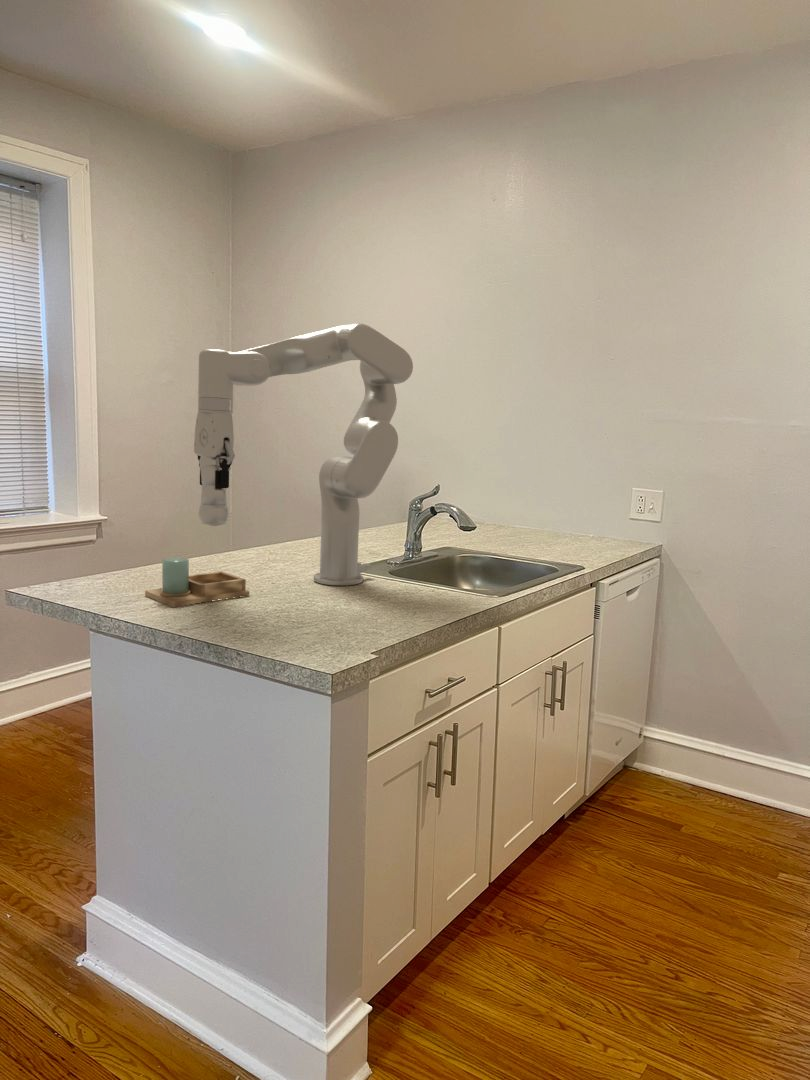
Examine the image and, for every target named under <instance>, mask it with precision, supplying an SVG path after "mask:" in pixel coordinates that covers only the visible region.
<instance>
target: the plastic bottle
mask: <svg viewBox="0 0 810 1080" xmlns="http://www.w3.org/2000/svg"><path fill="white" fill-rule="evenodd" d="M219 456H224V454H220V455H219ZM222 461H223V460H221V463H222ZM199 462H200V467H199V471H200V470H201V479H202V485H201V494H200V495H201V497H200V505H199V510H198V517H199V521H200V523H201V524H204V525H207V526H211V527H217V526H221V525H225V524H227V522H228V521H229V515H230V513H229V508H228V507H229V506H228V500H227V499H228V498H227V488H215V470H217V465H216V460H215V458H211V457H207V456H205V455H201V457H200V460H198V463H199Z"/></svg>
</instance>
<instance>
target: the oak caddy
mask: <svg viewBox="0 0 810 1080" xmlns="http://www.w3.org/2000/svg"><path fill="white" fill-rule="evenodd" d="M246 582H247V581H246V579H245V578H243V577H239V576H237V575H233V574H230V573H228V572H226V571H225V572H224V571H221V570H220V571H214V572H206V573H199V574H189V591H188V592H187V593H182V594H167V593H164V592H163V591H162V587H161V588H160V587H159V588H152V589H145V590H144V596H146V597H148V598H149V599H150V598H151V599H153V600H154V599H155V601H157V602H159V603H161V604H164V605H166V604H167V606H169V607H171V606H172V608H173V607H174V608H179V607H178V606H180V607H185V606H184V605H187V606H190V605H189V604H193V605H195V604H194V603H200V604H202V603H201V602H206V601H212V600H218V599H226V598H233V597H240V596H246V597H249V596H250V590H249V589H246V588H247V587H246V585H247V584H246ZM248 595H249V596H248ZM240 598H241V597H240ZM233 599H234V598H233ZM226 600H227V599H226Z"/></svg>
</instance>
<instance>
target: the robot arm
mask: <svg viewBox="0 0 810 1080" xmlns="http://www.w3.org/2000/svg"><path fill="white" fill-rule="evenodd" d="M349 361H359V372H360V375H361V378H362V381H363V384H364V397H363V400H362V402H361V404H360V406H359V408H358V410H357V411H356V413H355V415H354V416H353V418H352V420H351V422H350V424H349V426H348V427H347V429H346V432H345V433H344V436H343V446H344V448H345V450H346V451H347V452H348V453H350V454H351V455H353V457H352V456H351V457H350V456H345V455H336V456H332V457H329V458H327V460H325V461H324V462H323V464H322V465H321V467H320V469H319V473H318V482H319V489H320V498H321V499H320V500H321V515H320V516H321V519H320V525H321V526H320V550H319V552H320V554H319V555H320V556H319V572H317V573H315V574H314V575H313V581H314V582H316V583H318V584H322V585H329V586H341V587H342V586H355V585H359V584H361V583H363V581H364V576H363V575H362V574H361V573H363V572H367V571H368V572H369V571H371V570H372V563H370V562H367V563H361V562H359V560H358V559H359V558H358V557H359V532H360V505H359V504H360V503H359V499H364V498H365V499H366V498H367V497H369V496H370V495H372V494H373V493H374V491H376V489H377V488H378V486H379V484H380V483H381V481H382V480H383V477H384V476H385V474H386V472H387V470H388V468H389V466H390V465H391V462H392V461H393V459H394V457H395V455H396V453H397V450H398V446H399V435H398V432H397V430H396V428H395V427H394V426H393V425H392V424H391V420H392V418H393V417H394V414H395V412H396V409H397V405H398V404H397V402H398V401H397V400H398V399H397V391H396V388H395V385H398V384H402V383H404V382H406V381H407V380H408V379H409V378H411V375H412V373H413V369H414V363H413V359H412V357H411V356H410V354H409V353H408V352H407V351H406V350H405V348H403V347H401V346H400V345H398V344H397V343H396V342H394V341H392V339H390V338H388V337H386V335H384V334H383V333H381V332H379V331H378V330H377V329H375V328H373V327H371V326H369V325H367V324H364V323H360V322H358V323H350V324H342V325H338V326H334V327H330V328H326V329H325V328H324V329H322V330H321V329H320V330H318V331H314V332H308V333H305V334H302V335H301V334H300V335H297V336H293V337H289V338H286V339H283V340H280V341H276V342H274V343H273V342H272V343H269V344H265V345H261V346H256V347H254V348H248V349H245V350H240V351H233V352H232V351H229V350H225V349H217V348H216V349H214V348H209V349H208V348H207V349H202V350H201V351H200V352H199V354H198V392H197V393H198V394H197V395H198V396H197V397H198V399H197V405H198V406H197V414H196V415H197V416H196V421H195V429H194V441H193V442H194V445H193V451H194V452H193V453H194V454H195V455H197V460H198V467H199V468H200V462H199V460H200V457H201V455H205V456H207V457H211V458H215V460H216V465H217V470H215V488H226V489H229V488H230V471H231V466H232V464H233V461H234V459H235V458H236V454H235V452H234V442H235V441H234V422H233V421H234V419H233V407H234V406H233V405H234V404H233V403H234V399H233V398H234V385H235V386H241V387H242V386H247V387H248V386H249V387H252V386H254V387H255V386H259V385H262V384H263V383H265V382H266V381H267V380H268V379H269V378H272V377H277V376H278V377H279V376H284V375H298V374H299V375H300V374H305V373H309V372H310V373H311V372H314V371H316V370H320V369H323V368H327V367H331V366H334V365H338V364H340V363H345V362H349ZM220 454H224V456H219V455H220ZM221 460H223V461H222V463H221ZM199 485H200V486H202V479H201V470H200V469H199Z"/></svg>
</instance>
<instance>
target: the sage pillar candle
mask: <svg viewBox="0 0 810 1080" xmlns="http://www.w3.org/2000/svg"><path fill="white" fill-rule="evenodd" d="M161 562H162V565H161V566H162V567H161V568H162V571H161V572H162V573H161V574H162V576H161V577H162V582H161V583H162V585H161V588H162V591H163V592H164V593H167V594H182V593H187V592H188V591H189V575H190V573H189V572H190V571H189V568H190V565H189V562H190V561H189V559H188V558H185V557H184V558H183V557H168V558H164V559H162V560H161Z"/></svg>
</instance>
